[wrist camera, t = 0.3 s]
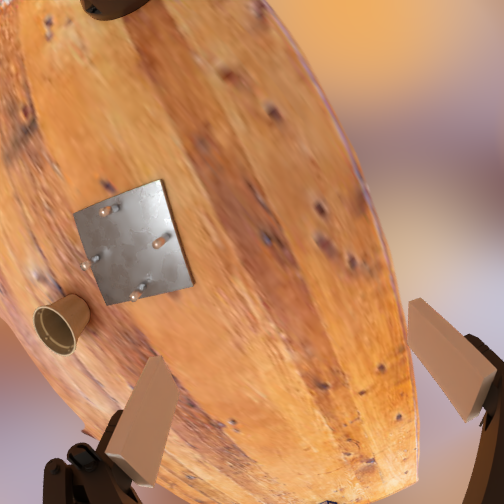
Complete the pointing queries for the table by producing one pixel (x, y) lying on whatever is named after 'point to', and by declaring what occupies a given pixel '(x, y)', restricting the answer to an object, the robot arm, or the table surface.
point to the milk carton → (328, 502)
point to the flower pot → (61, 324)
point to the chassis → (133, 245)
